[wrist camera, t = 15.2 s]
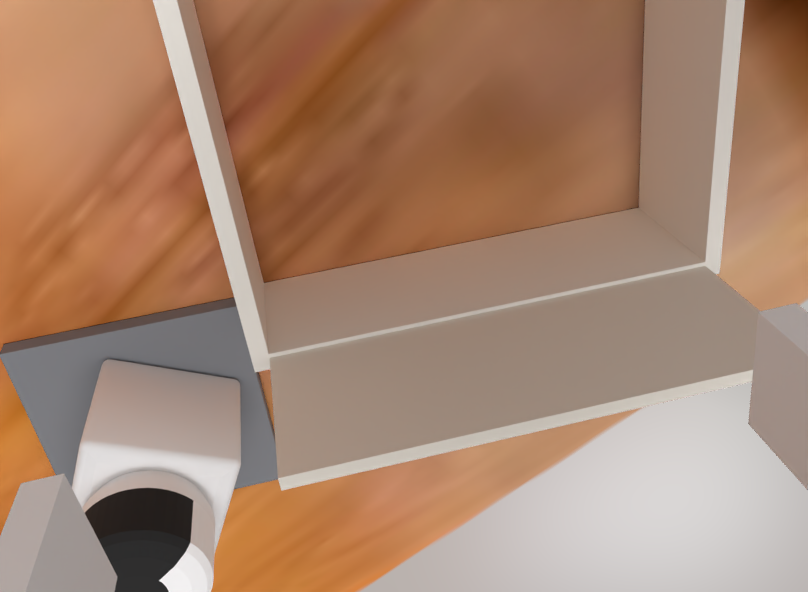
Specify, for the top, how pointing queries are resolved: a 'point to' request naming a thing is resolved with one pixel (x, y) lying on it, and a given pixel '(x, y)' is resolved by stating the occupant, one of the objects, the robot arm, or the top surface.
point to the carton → (501, 285)
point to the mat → (149, 345)
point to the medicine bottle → (159, 472)
